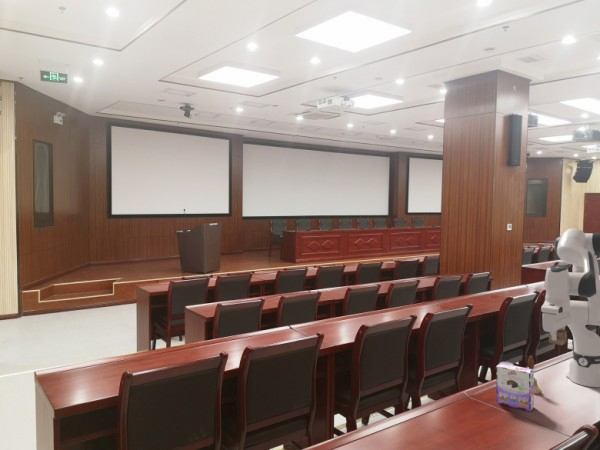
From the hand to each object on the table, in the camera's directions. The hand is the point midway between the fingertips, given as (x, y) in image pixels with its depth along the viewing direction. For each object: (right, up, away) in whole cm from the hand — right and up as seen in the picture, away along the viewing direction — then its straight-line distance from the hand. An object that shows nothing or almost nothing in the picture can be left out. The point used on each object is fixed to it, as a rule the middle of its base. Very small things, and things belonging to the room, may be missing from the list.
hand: (557, 338), depth 179 cm
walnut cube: (0, -2, 0) cm, 2 cm away
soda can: (-10, -30, +23) cm, 39 cm away
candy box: (-14, -31, +7) cm, 35 cm away
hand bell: (+1, -30, +22) cm, 37 cm away
